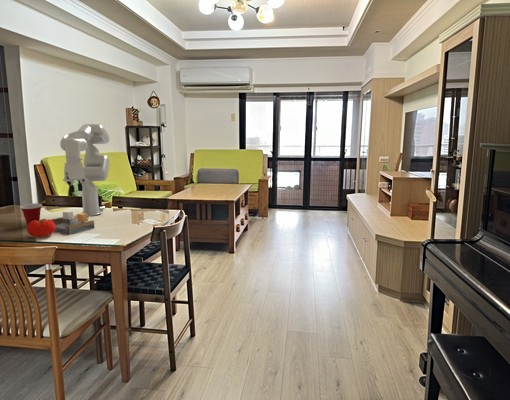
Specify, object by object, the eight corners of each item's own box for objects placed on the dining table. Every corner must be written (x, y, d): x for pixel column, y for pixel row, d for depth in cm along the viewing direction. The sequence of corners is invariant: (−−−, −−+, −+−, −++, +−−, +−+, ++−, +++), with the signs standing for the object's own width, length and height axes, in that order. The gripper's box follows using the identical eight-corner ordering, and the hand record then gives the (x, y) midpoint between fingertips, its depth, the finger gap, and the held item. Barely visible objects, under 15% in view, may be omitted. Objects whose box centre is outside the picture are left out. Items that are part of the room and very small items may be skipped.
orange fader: (82, 222, 198) (81, 213, 197) (88, 223, 195) (87, 213, 194) (77, 223, 195) (76, 214, 194) (83, 224, 193) (82, 214, 192)
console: (67, 223, 207) (67, 216, 206) (94, 228, 196) (93, 220, 195) (42, 229, 194) (41, 221, 193) (69, 234, 183) (68, 226, 182)
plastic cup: (20, 228, 195) (18, 207, 193) (23, 224, 205) (20, 204, 203) (43, 226, 200) (41, 205, 198) (44, 222, 210) (42, 202, 208)
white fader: (68, 219, 204) (67, 210, 203) (73, 220, 201) (72, 211, 200) (63, 220, 201) (62, 211, 200) (68, 221, 199) (67, 212, 198)
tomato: (63, 232, 186) (62, 216, 184) (48, 239, 173) (47, 222, 172) (38, 232, 186) (36, 216, 185) (21, 239, 174) (19, 222, 172)
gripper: (82, 159, 210) (85, 189, 213) (55, 160, 195) (58, 192, 199) (90, 159, 206) (93, 190, 210) (63, 161, 192) (66, 193, 195)
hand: (76, 191), depth 204 cm, fingers open, 4 cm apart
